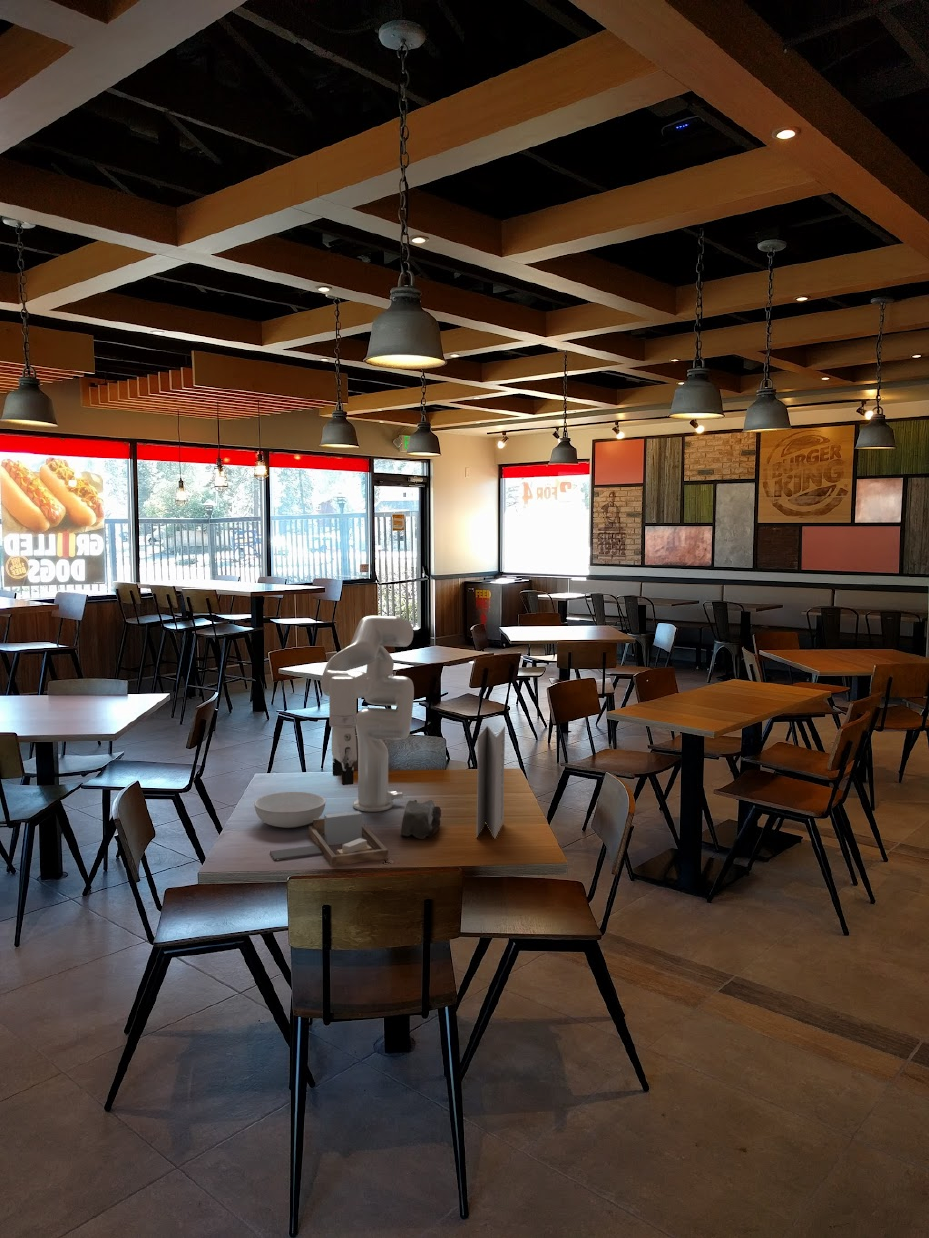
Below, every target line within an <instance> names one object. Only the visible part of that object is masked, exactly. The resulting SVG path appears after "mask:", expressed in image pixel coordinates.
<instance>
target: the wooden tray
mask: <svg viewBox="0 0 929 1238" xmlns="http://www.w3.org/2000/svg"><path fill="white" fill-rule="evenodd" d="M321 835H325V825H324V817H319V818H316V819H313V822H312V825H310V826H308V836H310V839H311V840H312V841H313V842H314V843H315V845H317V846H318V847H319V849H320V850H321V851H322V855H323V856H324V857H325V859H326V860H327V861H328V863H329V864H330V865H331V867H335V866H343V865H351V864H358V863H363V862H364V863H366V862H373V861H380V860H387V859H389V849H388V848H387V847H386V846H385V845H384V844H383V843H382V841H380V839H379V838H378V837H377V836H375V834H374V833H373V832H372V831H371V830H370V829H369V828H368V827H367V826H366V824H364V822H362V838H363V839H365V840H367V843H369V844H370V846H371V848H372V850H371V851H363V852H356V853H348V854H340V855H337V854H336V853H334V851H333V850H332V849H331V848H330V847H329V846H330V845H327V844H326V842H325V839H324V838H323V837H322V836H321Z"/></svg>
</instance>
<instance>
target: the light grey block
mask: <svg viewBox="0 0 929 1238" xmlns="http://www.w3.org/2000/svg"><path fill="white" fill-rule="evenodd" d="M323 818H324V825H325V834H324V841H325V842H326V844H327V845H328V846H335V845H341V844H342V845H343V844H346V843H349V842H351V841H354V840H356V839H359V838H361V839H363V835H362V823H363V822H362V821H363V820H362V819H363V814H362V812H361V810H353V811H345V812H336V813H329V814H328V813H327V814H324V817H323Z"/></svg>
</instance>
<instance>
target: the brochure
mask: <svg viewBox="0 0 929 1238" xmlns="http://www.w3.org/2000/svg"><path fill="white" fill-rule="evenodd" d="M505 736H506V726H503V727H502V729H501V730H500V731H499V733H498V734H497V735H496V734H495V733H494V732H493V730H492V729H491V727H489V725H486V726H485V727H484V728H483V730H481V732H480V733H479V734H478V735H477V768H476V769H477V774H476V775H477V777H476V778H477V783H476V833H475V834H476V836H475V837H478V835H479V833H480V831H481V829H482V828H483V826H484V824H485V822H486V823H487V825H488V827H489V829H490V830H491V832H492V834H493V836H494V838H496V836H497V834H498V831H499V829H500V828H501V825H502V823H503V824H504V804H505V803H504V801H505V800H504V797H505V796H504V795H505V794H504V793H505V789H504V788H505V746H506V745H505V743H506V742H505V741H506V738H505ZM485 825H486V824H485ZM484 827H485V826H484ZM488 827H487V828H488ZM483 829H484V828H483ZM489 829H488V830H489ZM501 829H502V828H501ZM481 832H482V831H481ZM480 834H481V833H480ZM498 835H499V834H498ZM479 836H480V835H479ZM497 837H498V836H497ZM478 838H479V837H478ZM496 839H497V838H496Z"/></svg>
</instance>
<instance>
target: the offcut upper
mask: <svg viewBox="0 0 929 1238" xmlns="http://www.w3.org/2000/svg"><path fill="white" fill-rule="evenodd" d="M367 845H368V841H367V840H366V839H365V838H362V839H361V838H359V839H356V840H354V841H351V842H349V843H343V844H342V848H341V849H342V851H343V852H346V853H352V852H355V851H357V850H359V849H362V848H364V847H367Z"/></svg>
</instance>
